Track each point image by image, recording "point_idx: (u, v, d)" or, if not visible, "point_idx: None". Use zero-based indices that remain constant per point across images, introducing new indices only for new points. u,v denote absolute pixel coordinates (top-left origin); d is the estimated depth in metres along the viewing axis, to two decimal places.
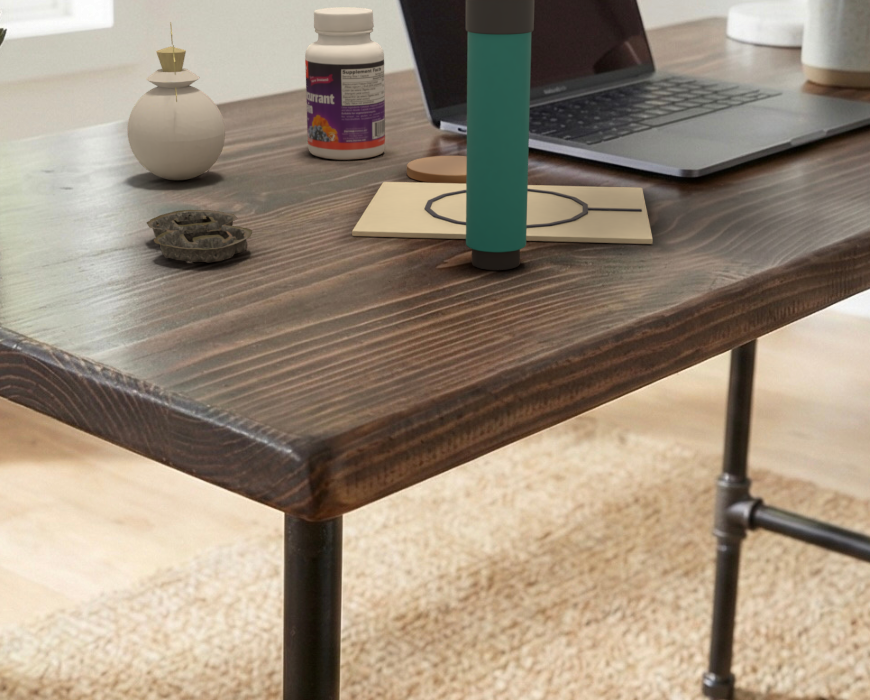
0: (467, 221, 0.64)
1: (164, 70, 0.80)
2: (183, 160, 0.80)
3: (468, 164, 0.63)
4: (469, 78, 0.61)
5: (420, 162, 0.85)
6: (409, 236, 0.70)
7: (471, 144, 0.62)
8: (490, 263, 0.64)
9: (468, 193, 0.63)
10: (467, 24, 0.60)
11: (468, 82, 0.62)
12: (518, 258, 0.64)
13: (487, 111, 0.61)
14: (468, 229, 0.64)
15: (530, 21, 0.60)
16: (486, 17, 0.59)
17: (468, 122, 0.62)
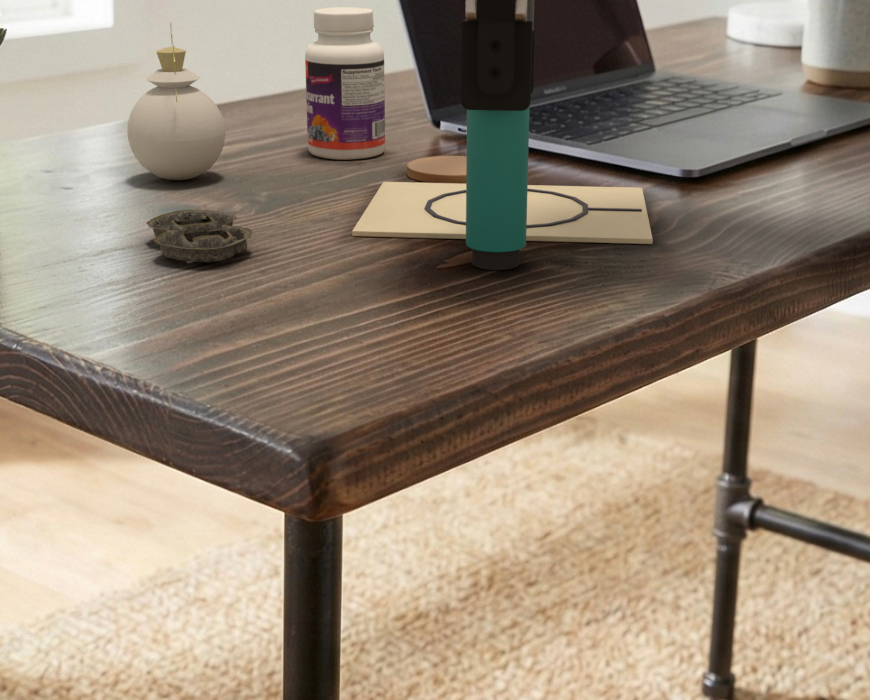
0: (467, 221, 0.64)
1: (164, 70, 0.80)
2: (183, 160, 0.80)
3: (468, 164, 0.63)
4: None
5: (420, 162, 0.85)
6: (409, 236, 0.70)
7: (471, 144, 0.62)
8: (490, 263, 0.64)
9: (468, 193, 0.63)
10: None
11: None
12: (518, 258, 0.64)
13: (487, 111, 0.61)
14: (468, 229, 0.64)
15: None
16: None
17: (468, 122, 0.62)
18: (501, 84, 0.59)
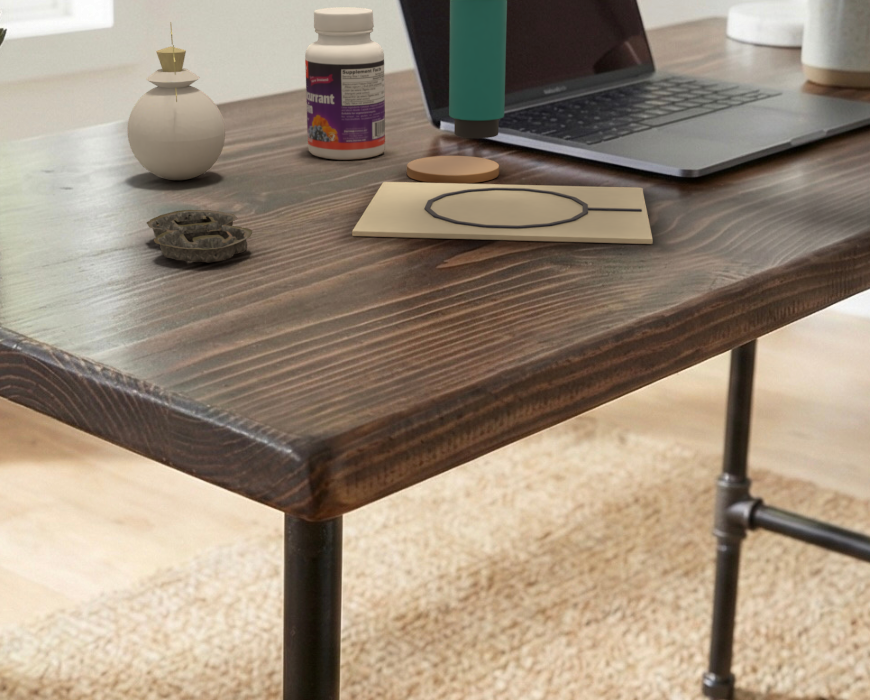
0: (450, 93, 0.70)
1: (164, 70, 0.80)
2: (183, 160, 0.80)
3: (451, 39, 0.69)
4: None
5: (420, 162, 0.85)
6: (409, 236, 0.70)
7: (454, 19, 0.68)
8: (471, 131, 0.70)
9: (451, 66, 0.69)
10: None
11: None
12: (497, 128, 0.70)
13: None
14: (451, 100, 0.70)
15: None
16: None
17: None
18: None
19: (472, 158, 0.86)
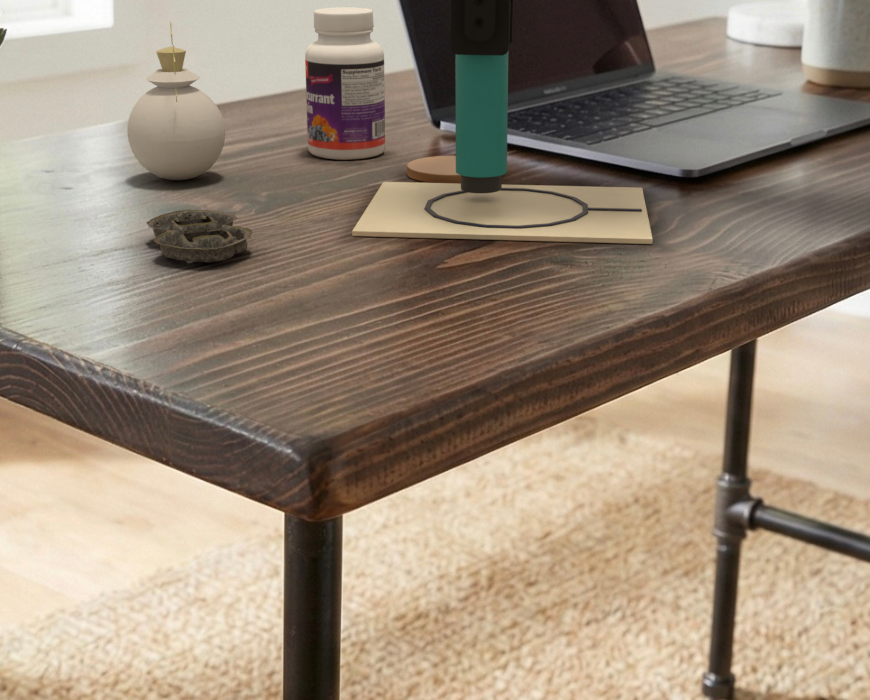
0: (456, 152, 0.75)
1: (164, 70, 0.80)
2: (183, 160, 0.80)
3: (457, 102, 0.74)
4: None
5: (420, 162, 0.85)
6: (409, 236, 0.70)
7: (459, 85, 0.74)
8: (476, 187, 0.75)
9: (457, 127, 0.75)
10: None
11: None
12: (500, 183, 0.76)
13: (472, 56, 0.72)
14: (457, 158, 0.75)
15: None
16: None
17: (456, 66, 0.74)
18: (484, 32, 0.70)
19: None
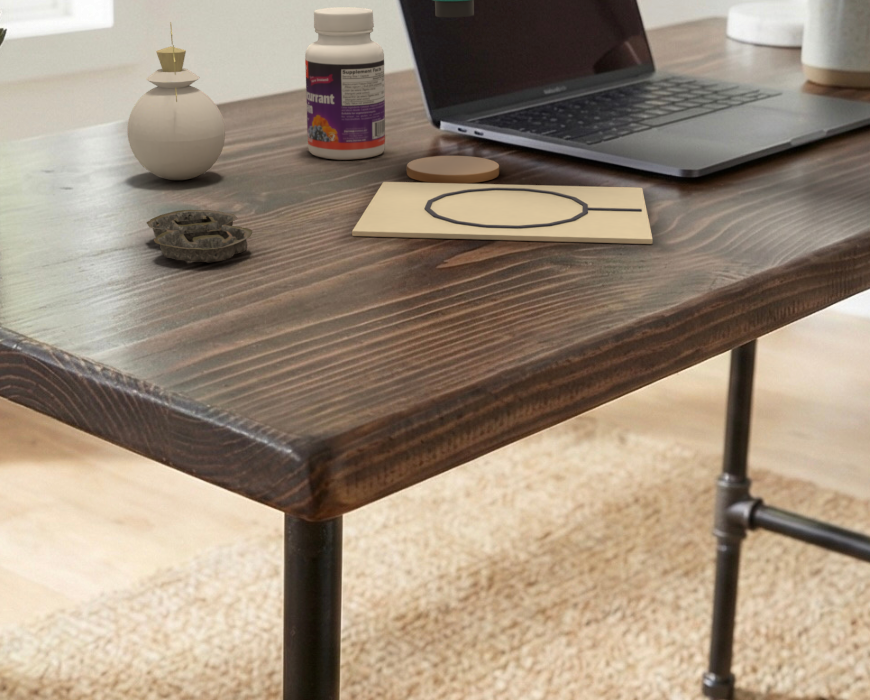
0: None
1: (164, 70, 0.80)
2: (183, 160, 0.80)
3: None
4: None
5: (420, 162, 0.85)
6: (409, 236, 0.70)
7: None
8: (449, 11, 0.80)
9: None
10: None
11: None
12: (472, 9, 0.81)
13: None
14: None
15: None
16: None
17: None
18: None
19: (472, 158, 0.86)
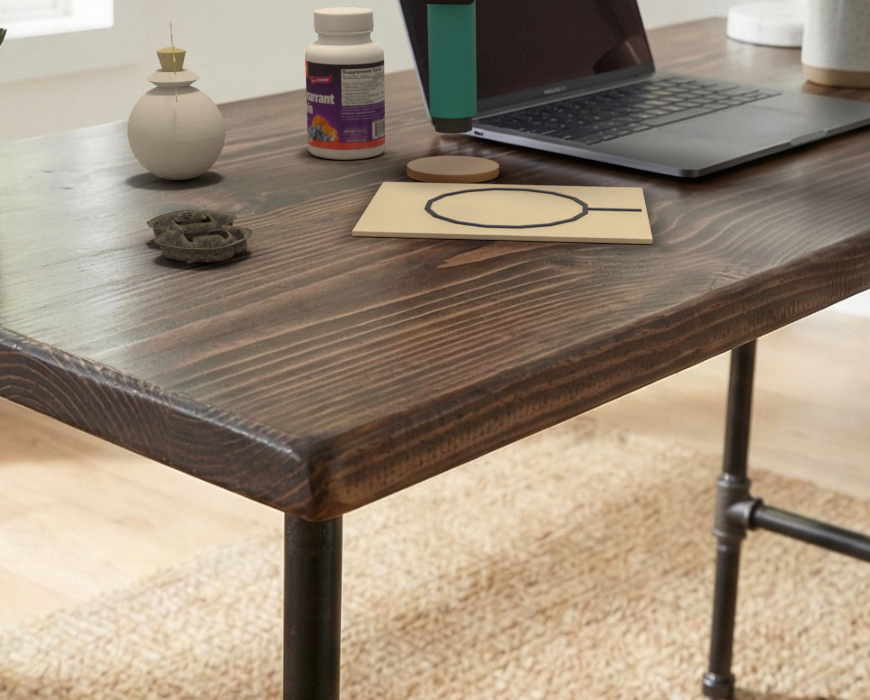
0: (430, 96, 0.82)
1: (164, 70, 0.80)
2: (183, 160, 0.80)
3: (429, 50, 0.81)
4: None
5: (420, 162, 0.85)
6: (409, 236, 0.70)
7: (431, 33, 0.81)
8: (449, 128, 0.82)
9: (430, 73, 0.82)
10: None
11: None
12: (471, 124, 0.83)
13: (442, 7, 0.80)
14: (431, 101, 0.82)
15: None
16: None
17: (428, 17, 0.81)
18: None
19: (472, 158, 0.86)
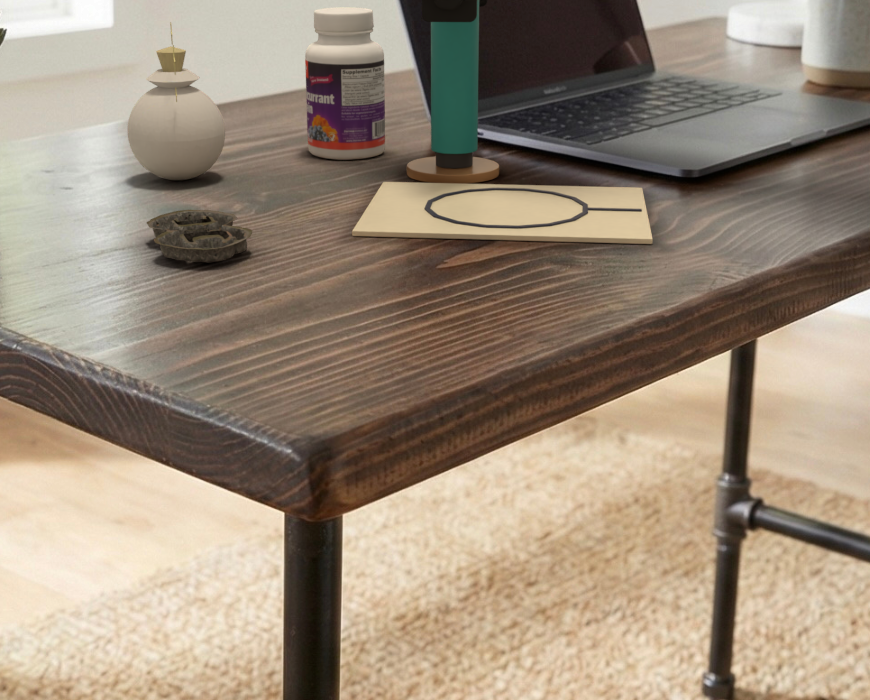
0: (432, 131, 0.83)
1: (164, 70, 0.80)
2: (183, 160, 0.80)
3: (432, 86, 0.82)
4: None
5: (420, 162, 0.85)
6: (409, 236, 0.70)
7: (434, 70, 0.81)
8: (449, 163, 0.83)
9: (432, 108, 0.83)
10: None
11: (431, 22, 0.81)
12: (471, 160, 0.84)
13: (446, 44, 0.80)
14: (432, 136, 0.83)
15: None
16: None
17: (432, 53, 0.81)
18: (453, 0, 0.75)
19: None
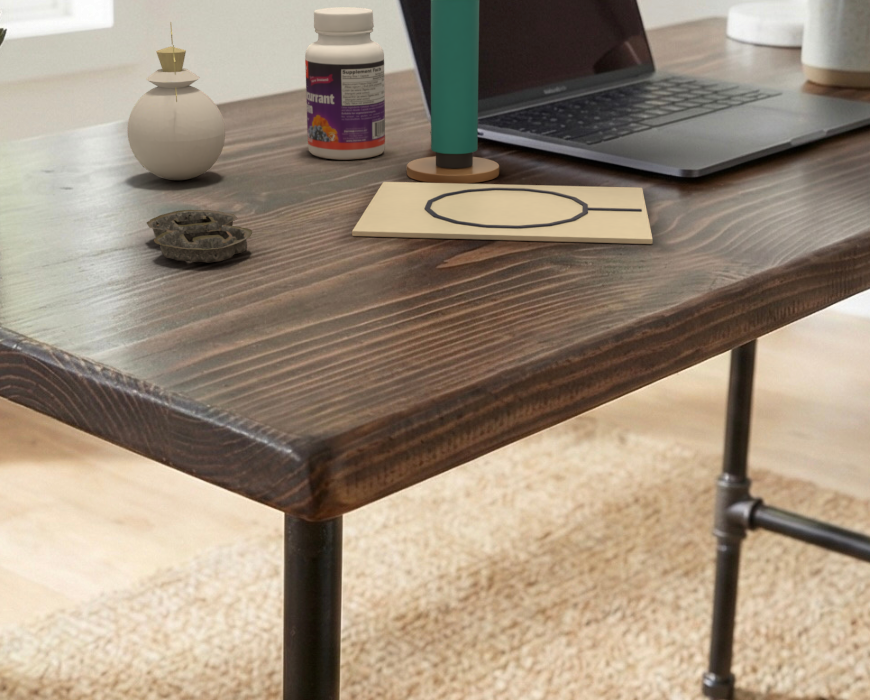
0: (432, 131, 0.83)
1: (164, 70, 0.80)
2: (183, 160, 0.80)
3: (432, 86, 0.82)
4: (432, 19, 0.81)
5: (420, 162, 0.85)
6: (409, 236, 0.70)
7: (434, 70, 0.81)
8: (449, 163, 0.83)
9: (432, 108, 0.83)
10: None
11: (431, 22, 0.81)
12: (471, 160, 0.84)
13: (446, 44, 0.80)
14: (432, 136, 0.83)
15: None
16: None
17: (432, 53, 0.81)
18: None
19: None
